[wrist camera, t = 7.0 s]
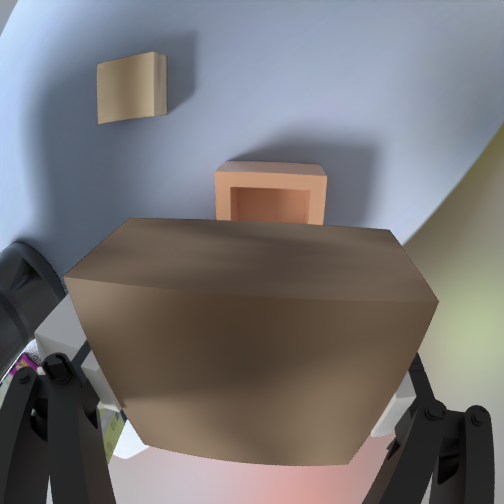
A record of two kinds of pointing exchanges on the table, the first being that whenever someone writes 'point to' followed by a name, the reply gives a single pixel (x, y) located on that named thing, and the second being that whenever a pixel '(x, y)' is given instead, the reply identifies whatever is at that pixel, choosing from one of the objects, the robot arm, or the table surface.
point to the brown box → (252, 334)
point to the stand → (132, 87)
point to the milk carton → (60, 333)
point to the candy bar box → (22, 361)
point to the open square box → (270, 192)
